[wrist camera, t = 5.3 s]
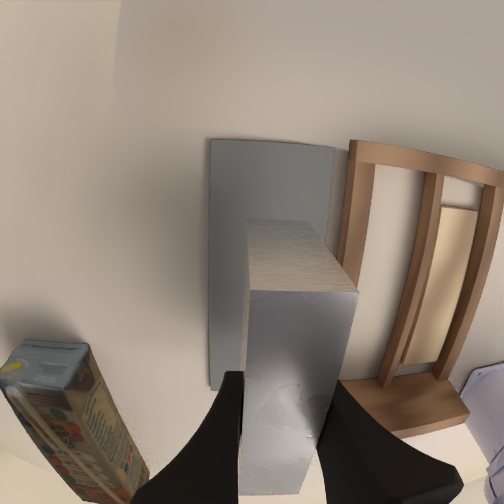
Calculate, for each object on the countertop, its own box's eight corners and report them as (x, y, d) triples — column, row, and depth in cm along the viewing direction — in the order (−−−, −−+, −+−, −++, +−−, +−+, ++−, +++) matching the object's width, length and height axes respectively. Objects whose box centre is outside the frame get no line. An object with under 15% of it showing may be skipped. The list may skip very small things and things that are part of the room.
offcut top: (472, 209, 19) (478, 211, 19) (433, 356, 24) (436, 361, 23) (436, 205, 19) (442, 207, 19) (399, 361, 24) (402, 366, 23)
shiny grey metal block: (308, 221, 15) (358, 292, 8) (284, 397, 18) (298, 493, 12) (246, 218, 14) (249, 289, 8) (238, 397, 18) (238, 495, 12)
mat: (332, 147, 18) (334, 147, 17) (299, 388, 24) (300, 391, 23) (211, 139, 17) (211, 139, 17) (211, 387, 24) (210, 390, 23)
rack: (496, 170, 18) (552, 185, 12) (436, 379, 25) (464, 422, 19) (349, 139, 18) (393, 142, 12) (310, 393, 24) (324, 450, 18)
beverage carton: (94, 339, 22) (61, 396, 16) (154, 471, 29) (145, 517, 23) (23, 335, 22) (-15, 380, 16) (94, 462, 29) (80, 503, 23)
